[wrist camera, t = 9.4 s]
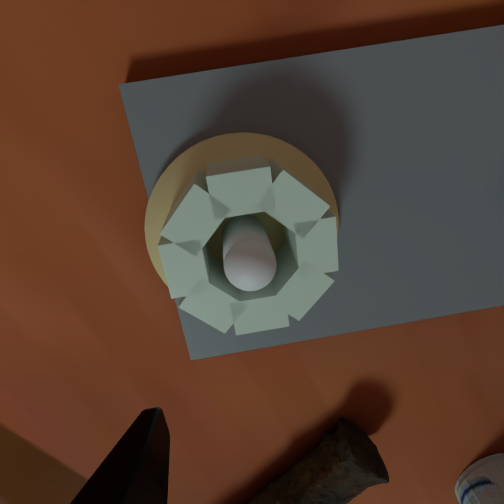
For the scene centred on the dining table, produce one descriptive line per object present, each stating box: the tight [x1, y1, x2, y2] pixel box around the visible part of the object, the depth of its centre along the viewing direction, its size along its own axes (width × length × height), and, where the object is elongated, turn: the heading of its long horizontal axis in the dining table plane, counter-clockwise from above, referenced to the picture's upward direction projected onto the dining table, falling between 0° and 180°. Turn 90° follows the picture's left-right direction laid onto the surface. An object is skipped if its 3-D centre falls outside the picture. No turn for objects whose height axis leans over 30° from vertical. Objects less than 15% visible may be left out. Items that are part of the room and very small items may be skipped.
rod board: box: [118, 25, 504, 360], centre depth 16 cm, size 22×14×6 cm, turn 98°
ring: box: [158, 155, 339, 335], centre depth 15 cm, size 7×7×3 cm
